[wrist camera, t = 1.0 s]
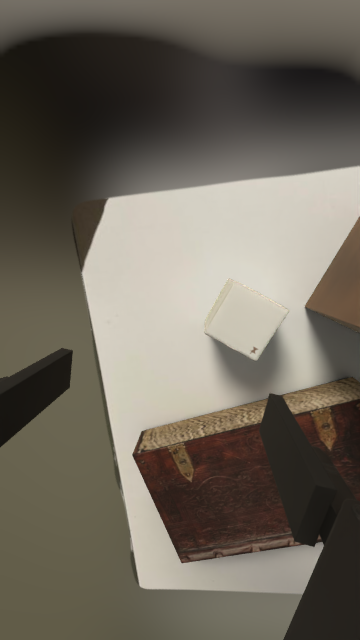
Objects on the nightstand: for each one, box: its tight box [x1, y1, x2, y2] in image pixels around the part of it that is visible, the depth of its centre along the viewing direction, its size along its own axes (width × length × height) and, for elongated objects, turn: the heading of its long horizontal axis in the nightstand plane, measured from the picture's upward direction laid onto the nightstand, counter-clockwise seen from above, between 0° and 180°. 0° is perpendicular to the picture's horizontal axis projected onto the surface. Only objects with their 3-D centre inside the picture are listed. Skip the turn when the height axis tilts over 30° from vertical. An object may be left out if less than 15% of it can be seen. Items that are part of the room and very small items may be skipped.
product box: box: [204, 278, 289, 361], centre depth 27 cm, size 6×6×7 cm
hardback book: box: [132, 377, 360, 563], centre depth 32 cm, size 29×19×5 cm, turn 110°
